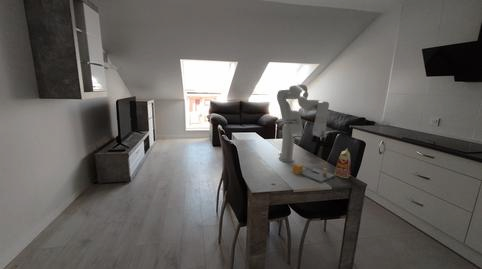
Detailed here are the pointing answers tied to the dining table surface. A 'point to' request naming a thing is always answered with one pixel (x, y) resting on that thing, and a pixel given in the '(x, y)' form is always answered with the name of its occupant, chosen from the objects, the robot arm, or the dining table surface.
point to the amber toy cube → (297, 168)
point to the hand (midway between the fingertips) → (317, 143)
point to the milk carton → (343, 165)
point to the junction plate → (318, 175)
